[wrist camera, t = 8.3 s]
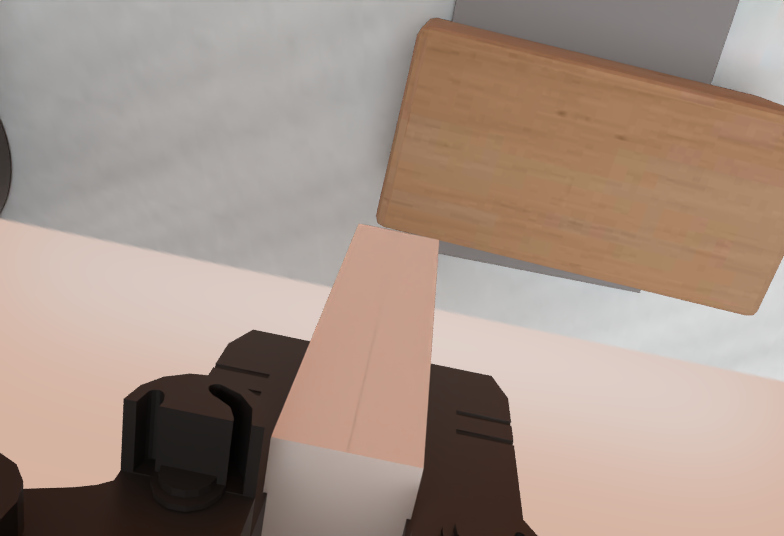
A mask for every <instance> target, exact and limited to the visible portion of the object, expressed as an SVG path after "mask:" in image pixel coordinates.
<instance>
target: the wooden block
mask: <svg viewBox="0 0 784 536" xmlns="http://www.w3.org/2000/svg"><path fill="white" fill-rule="evenodd" d="M376 217H377V222H378V223H379V224H380V225H382V226H383V227H387V228H391V229H395V230H399V231H403V232H407V233H411V234H415V235H419V236H424V237H428V238H432V239H437V240H440V241H444V242H448V243H452V244H456V245H460V246H464V247H469V248H473V249H477V250H481V251H485V252H489V253H493V254H497V255H501V256H505V257H509V258H513V259H518V260H522V261H526V262H530V263H534V264H538V265H542V266H546V267H550V268H554V269H558V270H563V271H567V272H571V273H575V274H579V275H583V276H587V277H591V278H595V279H599V280H603V281H607V282H612V283H616V284H620V285H624V286H628V287H632V288H636V289H640V290H644V291H648V292H652V293H657V294H661V295H665V296H669V297H673V298H677V299H681V300H685V301H689V302H693V303H697V304H701V305H706V306H710V307H714V308H718V309H722V310H726V311H730V312H734V313H738V314H742V315H754V314H755V313H756V312H757V311H758V309H759V306H760V304H761V302H762V300H763V298H764V296H765V294H766V292H767V290H768V288H769V286H770V283H771V281H772V279H773V277H774V275H775V273H776V271H777V269H778V267H779V265H780V262H781V260H782V258H783V256H784V106H783V105H780V104H777V103H774V102H772V101H769V100H766V99H764V98H761V97H758V96H755V95H751V94H746V93H742V92H738V91H734V90H730V89H726V88H722V87H718V86H714V85H710V84H705V83H701V82H697V81H693V80H689V79H685V78H681V77H677V76H673V75H669V74H665V73H660V72H656V71H652V70H648V69H644V68H640V67H636V66H632V65H628V64H624V63H620V62H615V61H611V60H607V59H603V58H599V57H595V56H591V55H587V54H583V53H579V52H574V51H570V50H566V49H562V48H558V47H554V46H550V45H546V44H542V43H538V42H534V41H529V40H525V39H521V38H517V37H513V36H509V35H505V34H501V33H497V32H493V31H489V30H484V29H480V28H476V27H472V26H468V25H464V24H460V23H456V22H452V21H448V20H443V19H439V18H433V19H430V20H429V21H428V22H427V23H426V24H425V25H424V26H423V27H422V28H421V30H420V31H419V33H418V34H417V38H416V42H415V47H414V51H413V56H412V60H411V64H410V69H409V73H408V78H407V82H406V86H405V91H404V95H403V100H402V104H401V108H400V113H399V117H398V122H397V126H396V130H395V135H394V139H393V143H392V148H391V152H390V157H389V161H388V165H387V170H386V174H385V179H384V183H383V187H382V192H381V196H380V201H379V205H378V209H377V214H376Z"/></svg>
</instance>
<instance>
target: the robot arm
mask: <svg viewBox="0 0 784 536" xmlns="http://www.w3.org/2000/svg"><path fill="white" fill-rule="evenodd" d="M9 184H10V156H9V150H8V145H7V141H6V137H5V134H4V131H3V128H2V125H1V123H0V212H1V210H2V208H3V206H4V203H5V201H6V198H7V194H8V190H9ZM438 249H439V240H437V239H432V238H427V237H422V236H418V235H413V234H408V233H403V232H398V231H393V230H388V229H383V228H378V227H373V226H368V225H364V224H358V227H357V229H356V231H355V234H354V236H353V239H352V241H351V244H350V246H349V249H348V251H347V253H346V256H345V258H344V261H343V263H342V266H341V268H340V270H339V273H338V275H337V278H336V280H335V283H334V285H333V287H332V290H331V292H330V295H329V297H328V300H327V302H326V304H325V307H324V309H323V312H322V314H321V317H320V319H319V322H318V324H317V326H316V329H315V331H314V334H313V336H312V339H311V341H305V340H301V339H296V338H291V337H286V336H281V335H277V334H272V333H266V332H262V331H257V330H252V331H250V332H248V333H246V334H245V335H243V336H241V337H239V338H238V339H236V340H234V341H232V342H231V343H229V344H228V346H227V347H226V348H225V350H224V352H223V353H222V355H221V356H220V358H219V360H218V361H217V363H216V366H215V368H214V367H213V369H212V370H211V372H210V373H209V375H199V374H183V375H175V376H166V377H162V378H159V379H157V380H154V381H151V382H149V383H146V384H143V385H140V386H139V387H138V388H137V389H135V390H134V391H133V392H132V393H130V394H129V395H128V396H127V397H126V398H124V405H123V430H122V453H121V471H120V472H119V474H118V475H117V477H116V478H115V480H114V481H110V482H106V483H102V484H99V485H91V486H82V487H69V488H39V489H38V488H37V489H23V480H22V477H21V475H20V472H19V470H18V467H17V464H15V463H14V462H12V461H11V460H10V459H8V458H7V457H5V456H4V455H2V454H1V453H0V536H537V535H536V534H535V532H534V531H533V530H532V529H531V528H530V527H529V526H528V525H527V523H525V521H524V520H523V515H522V507H521V499H520V491H519V483H518V475H517V467H516V459H515V451H514V446H513V435H512V427H511V426H510V423H511V419H510V411H509V403H508V398H507V396H506V395H505V394H504V393H503V391H502V390H501V388H500V387H499V386H498V385H497V383H496V382H495V380H494V379H493V377H492V376H489V375H483V374H479V373H473V372H469V371H464V370H459V369H453V368H450V367H445V366H439V365H435V364H431V352H432V337H433V321H434V308H435V293H436V279H437V264H438Z"/></svg>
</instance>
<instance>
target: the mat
mask: <svg viewBox="0 0 784 536" xmlns="http://www.w3.org/2000/svg"><path fill="white" fill-rule="evenodd" d="M738 3H739V0H456V4H455V9H454V14H453V19H452V22H456V23H460V24H464V25H468V26H472V27H476V28H480V29H484V30H489V31H493V32H497V33H501V34H505V35H509V36H513V37H517V38H521V39H525V40H529V41H534V42H538V43H542V44H546V45H550V46H554V47H558V48H562V49H566V50H570V51H574V52H579V53H583V54H587V55H591V56H595V57H599V58H603V59H607V60H611V61H615V62H620V63H624V64H628V65H632V66H636V67H640V68H644V69H648V70H652V71H656V72H660V73H665V74H669V75H673V76H677V77H681V78H685V79H689V80H693V81H697V82H701V83H705V84H710V85H711V82H712V79H713V76H714V73H715V70H716V67H717V64H718V61H719V58H720V56H721V53H722V50H723V47H724V44H725V41H726V38H727V35H728V32H729V29H730V26H731V23H732V20H733V17H734V14H735V12H736V9H737V6H738ZM413 235H415V234H413ZM418 236H419V235H418ZM422 237H424V236H422ZM427 238H428V237H427ZM438 253H439V254H444V255H449V256H454V257H459V258H464V259H469V260H474V261H479V262H484V263H490V264H495V265H500V266H505V267H510V268H515V269H520V270H525V271H530V272H535V273H541V274H546V275H551V276H556V277H561V278H566V279H571V280H576V281H581V282H586V283H592V284H597V285H602V286H607V287H612V288H617V289H622V290H627V291H632V292H637V293H640V289H636V288H632V287H628V286H624V285H620V284H616V283H612V282H607V281H603V280H599V279H595V278H591V277H587V276H583V275H579V274H575V273H571V272H567V271H563V270H558V269H554V268H550V267H546V266H542V265H538V264H534V263H530V262H526V261H522V260H518V259H513V258H509V257H505V256H501V255H497V254H493V253H489V252H485V251H481V250H477V249H473V248H469V247H464V246H460V245H456V244H452V243H448V242H444V241H440V240H439V249H438Z"/></svg>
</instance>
